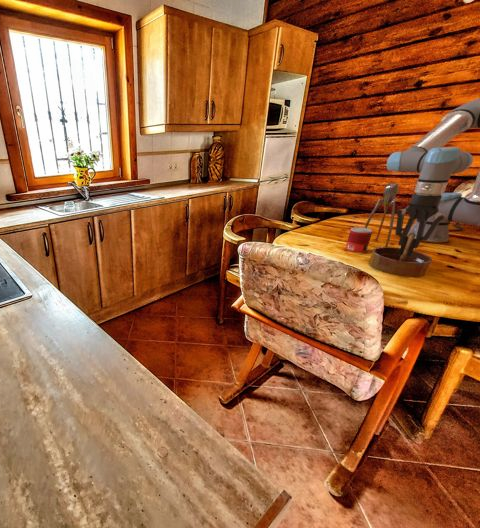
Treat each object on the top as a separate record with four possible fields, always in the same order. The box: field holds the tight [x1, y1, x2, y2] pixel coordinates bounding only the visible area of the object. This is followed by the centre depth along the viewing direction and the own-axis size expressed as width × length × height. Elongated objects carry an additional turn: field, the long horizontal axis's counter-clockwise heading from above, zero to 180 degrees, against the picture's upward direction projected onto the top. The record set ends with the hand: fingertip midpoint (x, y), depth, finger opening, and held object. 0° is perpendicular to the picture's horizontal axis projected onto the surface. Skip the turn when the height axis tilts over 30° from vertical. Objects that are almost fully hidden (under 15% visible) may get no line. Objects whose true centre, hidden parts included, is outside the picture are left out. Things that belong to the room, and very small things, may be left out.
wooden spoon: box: [399, 233, 415, 262], centre depth 108 cm, size 4×4×15 cm
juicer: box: [363, 182, 399, 247], centre depth 135 cm, size 10×11×30 cm
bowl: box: [368, 246, 433, 278], centre depth 113 cm, size 18×18×6 cm
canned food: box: [345, 226, 373, 254], centre depth 131 cm, size 8×8×11 cm
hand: (404, 254), depth 109 cm, fingers closed on wooden spoon, 2 cm apart
